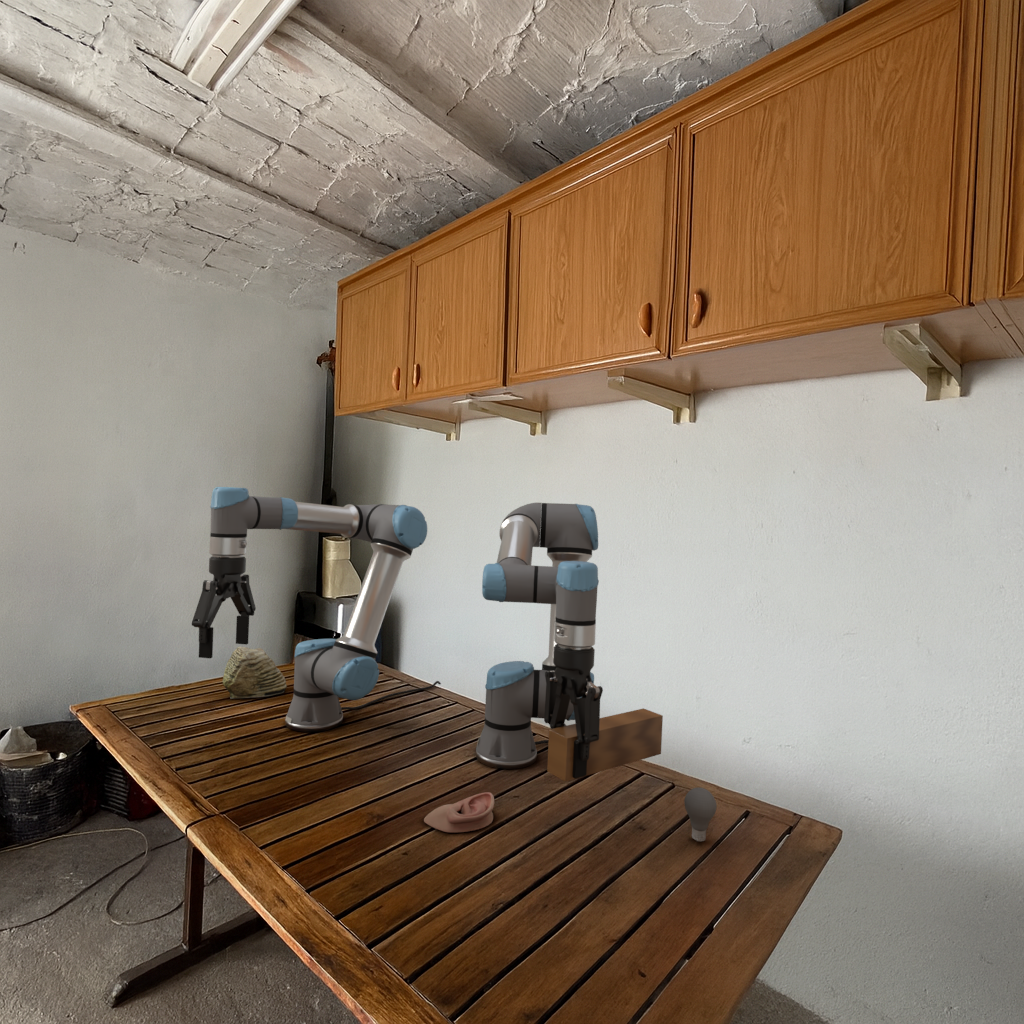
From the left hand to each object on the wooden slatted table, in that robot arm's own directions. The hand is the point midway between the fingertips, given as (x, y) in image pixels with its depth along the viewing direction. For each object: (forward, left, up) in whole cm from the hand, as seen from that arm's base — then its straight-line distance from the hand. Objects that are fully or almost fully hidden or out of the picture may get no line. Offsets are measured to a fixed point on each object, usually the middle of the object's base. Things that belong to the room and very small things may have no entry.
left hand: (224, 650), depth 142 cm
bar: (-37, +77, -14) cm, 87 cm away
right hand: (-28, +75, -13) cm, 81 cm away
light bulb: (-48, +92, -28) cm, 108 cm away
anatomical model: (-22, +53, -28) cm, 64 cm away
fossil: (-34, -46, -28) cm, 64 cm away
